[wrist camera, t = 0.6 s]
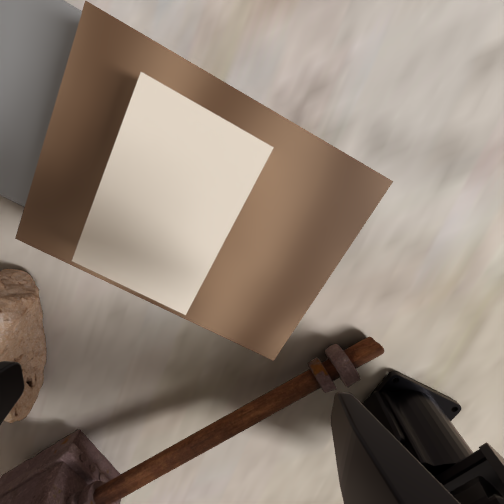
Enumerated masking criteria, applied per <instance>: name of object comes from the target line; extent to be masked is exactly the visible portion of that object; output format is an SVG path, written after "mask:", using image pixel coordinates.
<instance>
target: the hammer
mask: <svg viewBox="0 0 504 504" xmlns="http://www.w3.org/2000/svg"><path fill="white" fill-rule="evenodd" d="M325 353H326V356H327V357H328V359H327V360H325V361H324V362H322V363H321V362H320V360H319V359H318V358H315V359H313V360H312V361H310V362H309V363H308V365H309V367H310V369H309V370H307V371H306V372H304V373H302V374H300V375H298V376H297V377H295V378H293V379H291V380H289V381H288V382H286V383H284V384H282V385H280V386H278V387H277V388H275V389H273V390H271V391H269V392H268V393H266V394H264V395H262V396H260V397H259V398H257V399H255V400H253V401H251V402H250V403H248V404H246V405H244V406H243V407H241V408H239V409H237V410H235V411H234V412H232V413H230V414H228V415H226V416H225V417H223V418H221V419H219V420H217V421H216V422H214V423H212V424H210V425H208V426H207V427H205V428H203V429H201V430H199V431H198V432H196V433H194V434H192V435H190V436H189V437H187V438H185V439H183V440H182V441H180V442H178V443H176V444H174V445H173V446H171V447H169V448H167V449H165V450H164V451H162V452H160V453H158V454H156V455H155V456H153V457H151V458H149V459H148V460H146V461H144V462H142V463H140V464H139V465H137V466H135V467H133V468H131V469H130V470H128V471H126V472H124V473H123V474H120V473H119V472H118V471H117V470H116V469H115V468H114V467H113V465H112V464H111V463H110V462H109V461H108V460H107V459H106V458H105V456H104V455H103V454H102V453H101V452H100V451H99V450H98V449H97V448H96V447H95V446H94V444H93V443H92V442H91V441H90V440H89V439H88V438H87V437H86V435H85V434H84V433H83V432H82V431H81V430H77V431H75V432H73V433H72V434H70V435H68V436H67V437H65V438H63V439H62V440H60V441H58V442H57V443H55V444H53V445H52V446H50V447H48V448H47V449H45V450H43V451H42V452H40V453H39V454H38V455H37V456H35V457H34V458H32V459H28V460H26V461H25V462H23V463H22V464H20V465H19V466H17V467H15V468H14V469H12V470H10V471H8V472H7V473H5V474H4V475H2V477H1V479H0V504H120V501H121V498H123V497H125V496H127V495H128V494H130V493H132V492H134V491H135V490H137V489H139V488H141V487H142V486H144V485H146V484H148V483H150V482H151V481H153V480H155V479H157V478H159V477H160V476H162V475H164V474H166V473H168V472H169V471H171V470H173V469H175V468H177V467H179V466H180V465H182V464H184V463H186V462H188V461H189V460H191V459H193V458H195V457H197V456H198V455H200V454H202V453H204V452H206V451H208V450H209V449H211V448H213V447H215V446H217V445H218V444H220V443H222V442H224V441H226V440H227V439H229V438H231V437H233V436H235V435H236V434H238V433H240V432H242V431H244V430H245V429H247V428H249V427H251V426H253V425H254V424H256V423H258V422H260V421H262V420H263V419H265V418H267V417H269V416H271V415H272V414H274V413H276V412H278V411H280V410H281V409H283V408H285V407H287V406H289V405H290V404H292V403H294V402H296V401H298V400H299V399H301V398H303V397H305V396H307V395H308V394H310V393H312V392H314V391H316V390H317V389H319V388H322V389H323V391H324V392H325V393H326V392H329V391H332V390H335V389H336V386H335V384H334V383H333V381H334V380H336V379H338V378H339V377H340V379H341V380H342V382H343V383H344V384H345V386H346V387H349V386H351V385H352V384H353V383H355V382H357V381H359V380H360V376H359V374H358V372H357V370H356V368H358V367H360V366H361V365H363V364H365V363H367V362H369V361H371V360H373V359H374V358H376V357H378V356H380V355H381V354H383V353H384V348H383V347H382V346H381V345H380V344H379V343H377V342H376V341H375V340H374V339H373V338H372V337H367V338H365V339H363V340H361V341H360V342H358V343H356V344H354V345H352V346H351V347H349V348H347V349H345V350H342V349H341V347H340V346H339V345H338V344H334V345H331V346H330V347H328V348H327V349H326V350H325Z"/></svg>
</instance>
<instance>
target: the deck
mask: <svg viewBox="0 0 504 504" xmlns="http://www.w3.org/2000/svg"><path fill="white" fill-rule="evenodd" d="M141 72H143V73H144V74H146V75H148V76H150V77H151V78H153V79H155V80H157V81H158V82H160V83H162V84H164V85H165V86H167V87H169V88H171V89H172V90H174V91H176V92H178V93H179V94H181V95H183V96H185V97H186V98H188V99H190V100H192V101H193V102H195V103H197V104H199V105H200V106H202V107H204V108H206V109H207V110H209V111H211V112H213V113H214V114H216V115H218V116H220V117H221V118H223V119H225V120H227V121H228V122H230V123H232V124H234V125H235V126H237V127H239V128H240V129H242V130H244V131H246V132H247V133H249V134H251V135H253V136H254V137H256V138H258V139H260V140H261V141H263V142H265V143H267V144H268V145H270V146H272V147H274V148H273V150H272V152H271V154H270V156H269V157H268V159H267V161H266V163H265V165H264V167H263V169H262V171H261V173H260V175H259V177H258V178H257V180H256V182H255V184H254V186H253V188H252V190H251V192H250V194H249V196H248V197H247V199H246V201H245V203H244V205H243V207H242V209H241V211H240V213H239V215H238V217H237V218H236V220H235V222H234V224H233V226H232V228H231V230H230V232H229V234H228V236H227V237H226V239H225V241H224V243H223V245H222V247H221V249H220V251H219V253H218V255H217V256H216V258H215V260H214V262H213V264H212V266H211V268H210V270H209V272H208V274H207V276H206V277H205V279H204V281H203V283H202V285H201V287H200V289H199V291H198V293H197V295H196V296H195V298H194V300H193V302H192V304H191V306H190V308H189V310H188V312H187V314H186V315H184V314H182V313H180V312H178V311H176V310H174V309H171V308H169V307H167V306H165V305H163V304H161V303H159V302H157V301H155V300H153V299H150V298H148V297H146V296H144V295H142V294H140V293H138V292H136V291H134V290H131V289H129V288H127V287H125V286H123V285H121V284H119V283H117V282H115V281H113V280H110V279H108V278H106V277H104V276H102V275H100V274H98V273H96V272H94V271H92V270H89V269H87V268H85V267H83V266H81V265H79V264H77V263H75V262H73V261H72V259H73V256H74V253H75V251H76V248H77V245H78V242H79V240H80V237H81V234H82V231H83V229H84V226H85V223H86V220H87V218H88V215H89V212H90V209H91V207H92V204H93V201H94V199H95V196H96V193H97V190H98V188H99V185H100V182H101V179H102V177H103V174H104V171H105V168H106V166H107V163H108V160H109V157H110V155H111V152H112V149H113V147H114V144H115V141H116V138H117V136H118V133H119V130H120V127H121V125H122V122H123V119H124V116H125V114H126V111H127V108H128V105H129V103H130V100H131V97H132V95H133V92H134V89H135V86H136V84H137V81H138V78H139V75H140V73H141ZM392 182H393V181H391V180H390V179H388V178H386V177H385V176H383V175H381V174H380V173H378V172H376V171H374V170H373V169H371V168H369V167H368V166H366V165H364V164H363V163H361V162H359V161H357V160H356V159H354V158H352V157H351V156H349V155H347V154H346V153H344V152H342V151H340V150H339V149H337V148H335V147H334V146H332V145H330V144H329V143H327V142H325V141H323V140H322V139H320V138H318V137H317V136H315V135H313V134H312V133H310V132H308V131H306V130H305V129H303V128H301V127H300V126H298V125H296V124H295V123H293V122H291V121H289V120H288V119H286V118H284V117H283V116H281V115H279V114H278V113H276V112H274V111H272V110H271V109H269V108H267V107H266V106H264V105H262V104H261V103H259V102H257V101H255V100H254V99H252V98H250V97H249V96H247V95H245V94H244V93H242V92H240V91H238V90H237V89H235V88H233V87H232V86H230V85H228V84H227V83H225V82H223V81H221V80H220V79H218V78H216V77H215V76H213V75H211V74H210V73H208V72H206V71H204V70H203V69H201V68H199V67H198V66H196V65H194V64H193V63H191V62H189V61H187V60H186V59H184V58H182V57H181V56H179V55H177V54H176V53H174V52H172V51H170V50H169V49H167V48H165V47H164V46H162V45H160V44H159V43H157V42H155V41H153V40H152V39H150V38H148V37H147V36H145V35H143V34H142V33H140V32H138V31H136V30H135V29H133V28H131V27H130V26H128V25H126V24H125V23H123V22H121V21H119V20H118V19H116V18H114V17H113V16H111V15H109V14H108V13H106V12H104V11H102V10H101V9H99V8H97V7H96V6H94V5H92V4H91V3H89V2H87V1H85V4H84V7H83V11H82V14H81V17H80V21H79V24H78V28H77V31H76V34H75V38H74V41H73V45H72V48H71V51H70V55H69V58H68V62H67V65H66V68H65V72H64V75H63V78H62V82H61V85H60V89H59V92H58V95H57V99H56V102H55V106H54V109H53V112H52V116H51V119H50V123H49V126H48V129H47V133H46V136H45V140H44V143H43V146H42V150H41V153H40V157H39V160H38V163H37V167H36V170H35V173H34V177H33V180H32V184H31V187H30V190H29V194H28V197H27V201H26V204H25V207H24V211H23V214H22V218H21V221H20V224H19V228H18V231H17V235H16V238H15V239H18V240H20V241H22V242H24V243H26V244H28V245H30V246H32V247H34V248H37V249H39V250H41V251H43V252H45V253H47V254H49V255H51V256H53V257H56V258H58V259H60V260H62V261H64V262H66V263H68V264H70V265H72V266H75V267H77V268H79V269H81V270H83V271H85V272H87V273H89V274H91V275H94V276H96V277H98V278H100V279H102V280H104V281H106V282H108V283H110V284H113V285H115V286H117V287H119V288H121V289H123V290H125V291H127V292H129V293H132V294H134V295H136V296H138V297H140V298H142V299H144V300H146V301H148V302H151V303H153V304H155V305H157V306H159V307H161V308H163V309H165V310H167V311H170V312H172V313H174V314H176V315H178V316H180V317H182V318H184V319H186V320H189V321H191V322H193V323H195V324H197V325H199V326H201V327H203V328H205V329H208V330H210V331H212V332H214V333H216V334H218V335H220V336H222V337H224V338H227V339H229V340H231V341H233V342H235V343H237V344H239V345H241V346H243V347H246V348H248V349H250V350H252V351H254V352H256V353H258V354H260V355H262V356H265V357H267V358H269V359H271V360H273V361H274V359H275V358H276V356H277V355H278V353H279V352H280V350H281V349H282V347H283V346H284V344H285V343H286V341H287V340H288V338H289V337H290V335H291V334H292V332H293V331H294V329H295V328H296V326H297V325H298V323H299V322H300V320H301V319H302V317H303V316H304V314H305V313H306V311H307V310H308V308H309V307H310V305H311V304H312V302H313V301H314V299H315V298H316V296H317V295H318V293H319V292H320V290H321V289H322V287H323V286H324V284H325V283H326V281H327V280H328V278H329V277H330V275H331V274H332V272H333V271H334V269H335V268H336V266H337V265H338V263H339V262H340V260H341V259H342V257H343V256H344V254H345V253H346V251H347V250H348V248H349V247H350V245H351V244H352V242H353V241H354V239H355V238H356V236H357V235H358V233H359V232H360V230H361V229H362V227H363V226H364V224H365V223H366V221H367V220H368V218H369V217H370V215H371V214H372V212H373V211H374V209H375V208H376V206H377V205H378V203H379V202H380V200H381V199H382V197H383V196H384V194H385V193H386V191H387V190H388V188H389V187H390V185H391V184H392Z"/></svg>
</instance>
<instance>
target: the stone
mask: <svg viewBox="0 0 504 504" xmlns="http://www.w3.org/2000/svg"><path fill="white" fill-rule="evenodd" d="M42 319H43V311H42V309H41V304H40V298H39V289H38V288H37V286H36V285H35V282H34V280H33V279H32V277H31V275H29V274H28V273H26V272H24V271H22V270H16V269H3V270H2V271H0V362H2V361H13V362H18V363H20V365H21V367H22V373H23V378H24V384H25V387H24V391H23V394H22V395H21V397H20V398H19V400H18V401H17V402H16V404H15V405H14V407H13V408H12V410H11V411H10V412H9V414H8V415H7V417H6V418H5V419H4V421H5V422H9V423H12V422H15V421H20V420H22V419H24V418H25V417H26V416H27V415H28V414H29V412H30V411H31V409H32V407H33V405H34V403H35V401H36V399H37V397H38V394H39V391H40V389H41V387H42V385H43V380H44V377H43V370H44V366H45V363H46V339H45V334H44V330H43V323H42Z"/></svg>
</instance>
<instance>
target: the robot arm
mask: <svg viewBox="0 0 504 504" xmlns="http://www.w3.org/2000/svg"><path fill="white" fill-rule="evenodd" d="M394 378H396V379H394ZM24 387H25V384H24V378H23V373H22V367H21V365H20V363H18V362H13V361H2V362H0V425H1V424H2V422H3V421H4V419H5V418H6V417H7V415H8V414H9V412H10V411H11V410H12V408H13V407H14V405H15V404H16V402H17V401H18V400H19V398H20V397H21V395H22V394H23V391H24ZM460 411H461V406H460V405H459V404H458V402H456V401H455V400H453V399H451V398H449V397H447V396H445V395H443V394H441V393H439V392H437V391H435V390H433V389H431V388H429V387H427V386H425V385H423V384H421V383H419V382H417V381H415V380H413V379H411V378H409V377H407V376H405V375H403V374H401V373H399V372H396V371H392V372H390V373H389V374H388V375H387V376H386V377H385V378H384V380H383V381H382V382H381V383H380V384H379V386H378V387H377V388H376V389H375V390H374V392H373V393H372V394H371V395H370V397H369V398H368V399H367V400H366V401H365V403H364V404H363V405H362V404H361V403H360V401H359V400H358V399H357V398H356V397H355V396H354V395H352V394H351V393H345V392H337V393H336V394H335V398H334V403H333V408H332V414H331V426H332V433H333V440H334V447H335V454H336V461H337V468H338V475H339V482H340V487H341V492H342V497H343V501H344V504H504V458H503V457H502V456H501V455H499V454H498V453H497V452H496V451H495V450H494V449H493V448H492V447H491V446H490V445H489V444H488V443H485V444H483V445H482V446H480V447H479V448H480V449H479V450H477V451H476V452H474V453H473V452H472V450H471V449H470V448H469V446H468V445H467V444H466V442H465V441H464V439H463V438H462V437H461V435H460V434H459V433H458V431H457V430H456V428H455V427H454V426H453V424H452V423H451V422H450V421H451V420H452V419H453V418H454V417H455V416H456V415H457V414H458V413H459V412H460Z"/></svg>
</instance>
